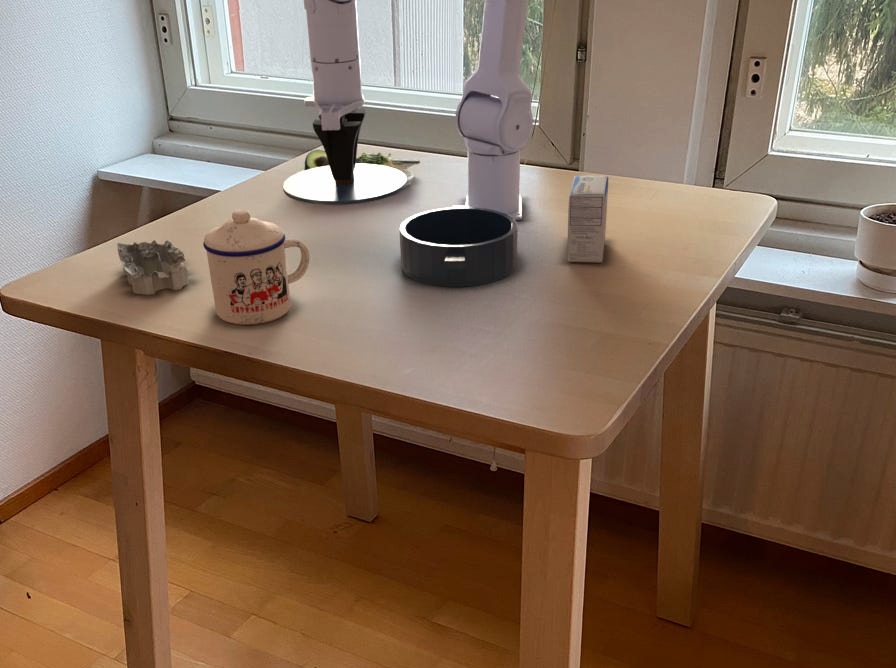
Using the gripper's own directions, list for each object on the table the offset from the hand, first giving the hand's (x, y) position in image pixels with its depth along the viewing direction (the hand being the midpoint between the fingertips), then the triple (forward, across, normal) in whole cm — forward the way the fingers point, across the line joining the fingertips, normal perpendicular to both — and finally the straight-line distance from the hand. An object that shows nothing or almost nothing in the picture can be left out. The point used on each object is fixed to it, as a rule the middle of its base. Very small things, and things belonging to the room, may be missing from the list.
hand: (344, 175), depth 124 cm
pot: (+10, +3, +14) cm, 18 cm away
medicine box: (+11, -1, +30) cm, 32 cm away
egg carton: (+11, +7, -24) cm, 27 cm away
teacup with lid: (+11, +16, -8) cm, 21 cm away
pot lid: (+1, 0, 0) cm, 1 cm away
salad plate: (+11, -31, -4) cm, 33 cm away
